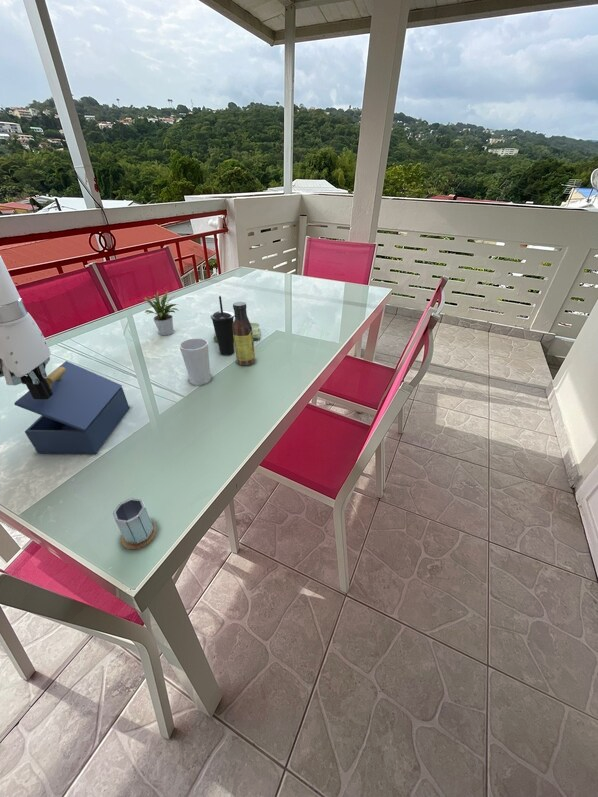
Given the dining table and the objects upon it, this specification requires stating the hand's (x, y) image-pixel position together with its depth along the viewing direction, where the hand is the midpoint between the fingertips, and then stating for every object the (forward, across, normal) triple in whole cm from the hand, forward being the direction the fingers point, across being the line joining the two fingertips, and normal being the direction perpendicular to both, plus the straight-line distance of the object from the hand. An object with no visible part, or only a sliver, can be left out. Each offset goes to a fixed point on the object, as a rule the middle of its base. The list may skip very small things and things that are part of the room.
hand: (43, 396), depth 69 cm
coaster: (+14, +22, +26) cm, 37 cm away
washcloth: (+14, -64, +29) cm, 71 cm away
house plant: (+14, -64, 0) cm, 66 cm away
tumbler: (+13, +22, +26) cm, 37 cm away
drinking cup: (+14, -49, +28) cm, 58 cm away
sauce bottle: (+14, -42, +35) cm, 57 cm away
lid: (+4, -6, +1) cm, 7 cm away
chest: (+14, -6, +1) cm, 15 cm away
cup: (+14, -30, +23) cm, 40 cm away
